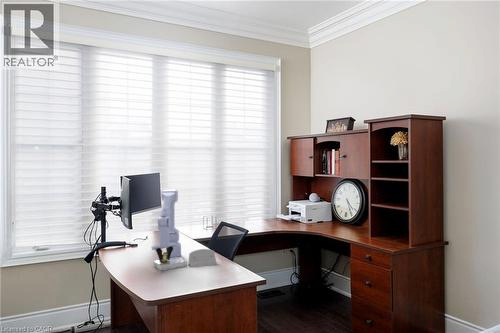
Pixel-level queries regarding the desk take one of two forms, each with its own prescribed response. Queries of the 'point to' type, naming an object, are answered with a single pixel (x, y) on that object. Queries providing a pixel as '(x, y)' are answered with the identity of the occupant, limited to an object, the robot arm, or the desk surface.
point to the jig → (170, 263)
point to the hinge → (202, 258)
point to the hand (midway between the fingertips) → (164, 260)
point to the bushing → (164, 257)
